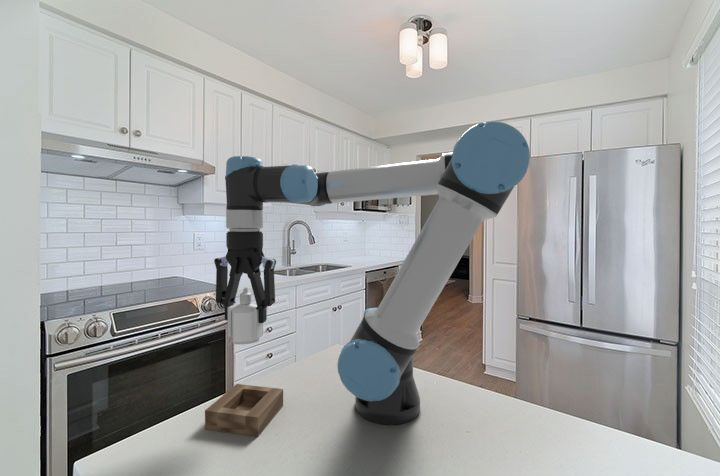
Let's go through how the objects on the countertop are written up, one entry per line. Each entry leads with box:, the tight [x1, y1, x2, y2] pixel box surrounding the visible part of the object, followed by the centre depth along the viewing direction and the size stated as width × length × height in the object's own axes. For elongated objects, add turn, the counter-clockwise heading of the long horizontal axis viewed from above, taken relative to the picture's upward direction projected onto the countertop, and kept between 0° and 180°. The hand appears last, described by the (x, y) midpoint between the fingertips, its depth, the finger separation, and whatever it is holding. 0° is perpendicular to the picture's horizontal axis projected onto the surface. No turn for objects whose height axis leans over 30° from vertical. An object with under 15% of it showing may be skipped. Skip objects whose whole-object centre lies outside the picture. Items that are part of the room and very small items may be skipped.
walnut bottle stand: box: [204, 383, 284, 437], centre depth 76 cm, size 12×12×4 cm
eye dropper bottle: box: [231, 286, 260, 345], centre depth 75 cm, size 4×6×12 cm
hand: (245, 335), depth 76 cm, fingers closed on eye dropper bottle, 5 cm apart
